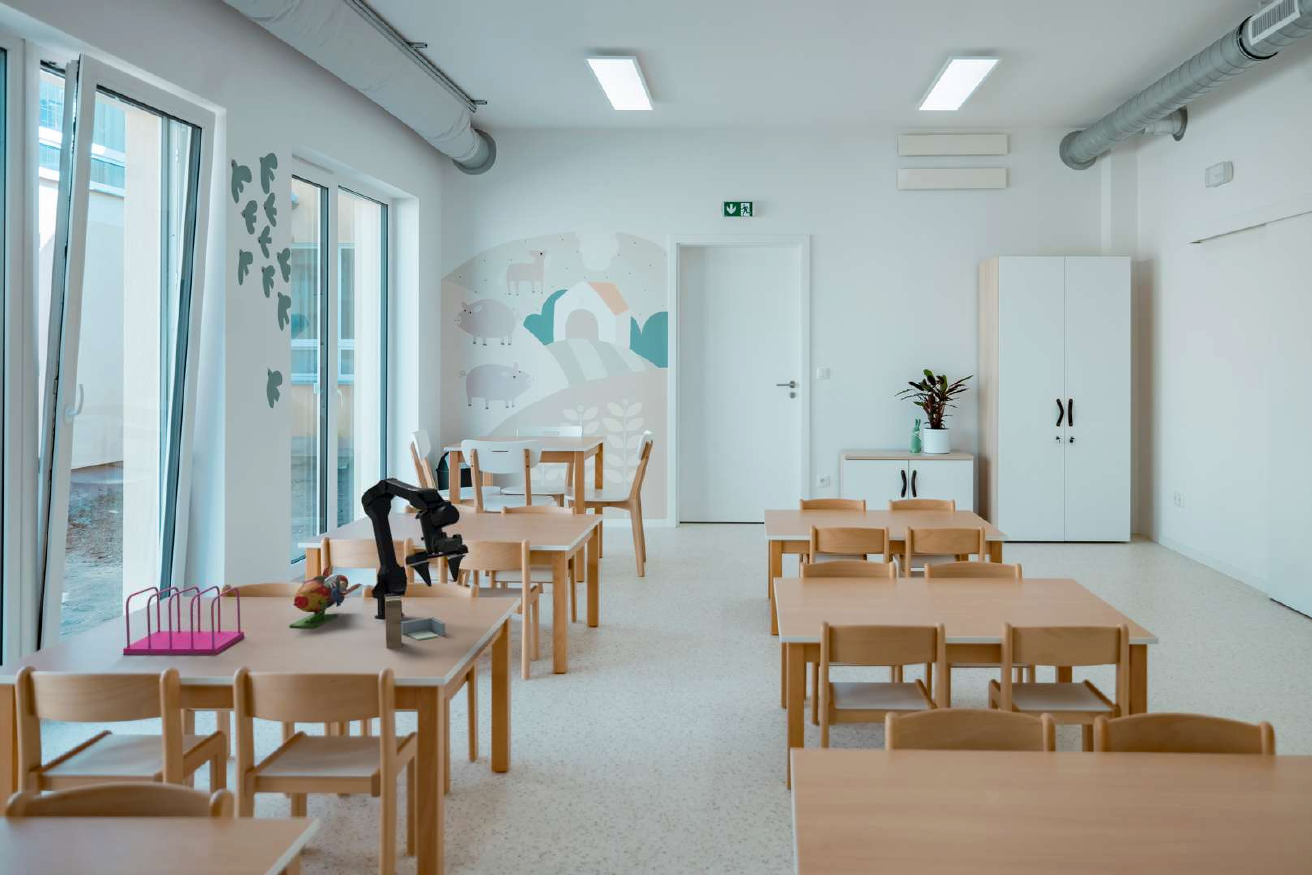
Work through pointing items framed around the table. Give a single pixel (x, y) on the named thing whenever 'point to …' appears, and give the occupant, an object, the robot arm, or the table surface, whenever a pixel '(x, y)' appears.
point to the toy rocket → (318, 599)
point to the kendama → (343, 581)
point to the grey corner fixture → (423, 628)
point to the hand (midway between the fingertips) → (443, 583)
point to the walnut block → (393, 621)
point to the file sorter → (183, 639)
